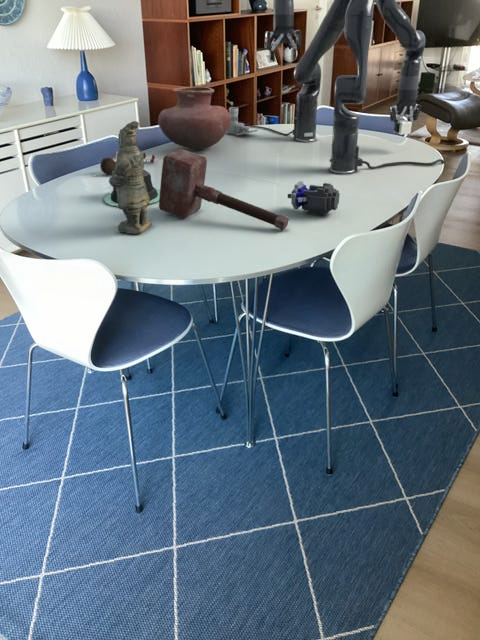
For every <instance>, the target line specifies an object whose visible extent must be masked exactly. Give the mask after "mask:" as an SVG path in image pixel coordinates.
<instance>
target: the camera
mask: <svg viewBox="0 0 480 640" xmlns="http://www.w3.org/2000/svg"><path fill="white" fill-rule="evenodd" d="M228 112H229V113H230V116H231V122H230V125H229V127H228V130H227V132H226V134H229V135H234V136H242V135H248V134H251V133H256V132H259V130H258V129H252V130H250V127H249V126H244V124H245V123H244V122H242V123H240V121H239V116H238V115H239V107H236V106H231V107H228Z"/></svg>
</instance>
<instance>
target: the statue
mask: <svg viewBox="0 0 480 640" xmlns="http://www.w3.org/2000/svg"><path fill="white" fill-rule="evenodd" d="M139 126H140V122H139V121H136V120H134V121H131V122H129V123H127V124H126V125H125V126H123V127H122V128H121V129H119V133H118V139H117V141H118V146H119V151H118V154H117V160H116V164H115V170H114V175H113V176H112V175H110V177H109V180H108V183H109V184H110V186H111V187H112V188H113V187H114V188H115V189H116V192H117V202H118V206H117V209H119V210H122V213H123V214H124V215H125V218H126V219H125V220H122V221H120V222H119V224H118V225H117V231H118V232H121V233H126V234H134V235H136V234H142V233H143V232H145V231H146V230H147V229H148V228H150V227H151V226H152V225H153V223H152V220H150V219H148V216H147V214H148V213H147V212H148V211H147V209H148V206H149V205H150V197H149V195H148V192H147V188H146V184H145V182H144V178H143V169H144V165H145V163H144V156H143V154H144V152H143V151H142V150H141V149H139V147H138V145H137V144H138V142H137V141H138V140H137V139H138V137H137V132H138V131H139V128H140V127H139Z"/></svg>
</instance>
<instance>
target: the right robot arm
mask: <svg viewBox="0 0 480 640" xmlns="http://www.w3.org/2000/svg"><path fill="white" fill-rule="evenodd" d="M374 8H375V1H374V0H350V2H349V4H348V7H347V10H346V15H345V26H344V30H343V36H344V38H345V41H346V43H347V45H348V47H349V49H350V52H351V53H352V55H353V58H354V60H355V64H356V69H357V75H338V76H337V77H336V79H335V82H334V90H333V97H334V98H333V120H332V121H333V123H332V124H333V125H332V136H331V138H332V139H331V153H330V158H329V163H330V168H329V171H330V172H331V173H334V174H340V175H346V174H352V173H355V172H358V167H363V164H365V165H366V166H367V168H368V169H370V170H376V169H380V168H384V167H390V166H398V165H415V166H433V165H436V164H438V163H442V164H446V162H445V160H444V159H442V158H439V159H438V158H437V159H436V160H434V161H432V162H419V161H392V162H386V163H385V162H384V163H383V164H380V165H376V166H372V165H371V164H370V162H369V161H366V160H363V159H362V158H361V157H359V151H360V145H359V144H358V138H359V127H360V115H359V114H357V113H355V112H353V111H350V110H349V109H348V108H346V107H345V105H362V104H363V103H364V101H365V99H366V94H367V84H368V83H367V81H368V68H369V67H368V63H369V54H370V53H369V51H370V44H371V37H372V29H373V19H374ZM294 16H295V3H294V0H273V22H272V23H273V24H272V25H273V28H272V31H269V30H266V31H265V32H264V49H265V50H268V51H269V55H268V56H269V58H268V59H269V61H270V62H271V63H273V62H274V63H275V54H276V53H275V52H276V51H275V49H276V47H277V46H278V45H279V44H280V45H281V44H282V45H283V44H288V46H290V48H291V49H290V50H291V51H290V59H291V60H290V61H295V60H296V59H297V50H298V49H300V48H301V47H302V30H301V29H296V30H294ZM272 37H273V40H272V42H271V38H272ZM293 37H295V41H294V39H293Z"/></svg>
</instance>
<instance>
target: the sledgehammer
mask: <svg viewBox="0 0 480 640" xmlns="http://www.w3.org/2000/svg"><path fill="white" fill-rule="evenodd" d="M207 164H208V159H207V158H206V157H205V156H203V155H200V154H197V153H195V152H193V151H189V150H186V149H184V148H180V149H177V150H174V151H172V152H169V153H167V154H165V155H164V156H163V158H162V167H161V176H160V187H159V190H160V198H159V200H158V208H159V210H160V211H162V212H165V213H168V214H170V215H173V216H174V217H177V218H180V219H182V220H185V219H187V218H188V217H190V216H192V215H193V214H195V213H197V212H198V211H199V210H200V209H201V207H202V201H203V200H204V201H207V202H209V203H213V204H215V205H220V206H223V207H225V208H228V209H231V210H233V211H236V212H239V213H241V214H243V215H245V216H248V217H252V218H255V219H257V220H260V221H262V222H264V223H267V224H270V225H273V226H274V228H276V229H280V230H282V231H285V230H286V228H287V227H288V224H289V221H290V218H289V217H288V216H286V215H283V214H281V213H279V214H277V213H275V212H273V211H269V210H267V209H265V208H262V207H259V206H256V205H254V204H251V203H248V202H246V201H244V200H242V199H238V198H236V197H233V196H231V195H228V194H225V193H223V192H222V191H220V190H218V189H215V188H214V187H211V186H208V185H205V181H206V175H207Z"/></svg>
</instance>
